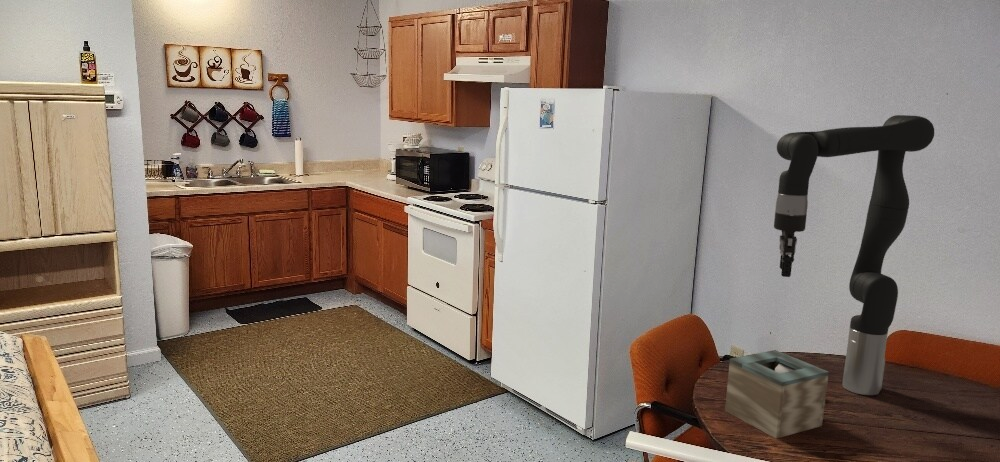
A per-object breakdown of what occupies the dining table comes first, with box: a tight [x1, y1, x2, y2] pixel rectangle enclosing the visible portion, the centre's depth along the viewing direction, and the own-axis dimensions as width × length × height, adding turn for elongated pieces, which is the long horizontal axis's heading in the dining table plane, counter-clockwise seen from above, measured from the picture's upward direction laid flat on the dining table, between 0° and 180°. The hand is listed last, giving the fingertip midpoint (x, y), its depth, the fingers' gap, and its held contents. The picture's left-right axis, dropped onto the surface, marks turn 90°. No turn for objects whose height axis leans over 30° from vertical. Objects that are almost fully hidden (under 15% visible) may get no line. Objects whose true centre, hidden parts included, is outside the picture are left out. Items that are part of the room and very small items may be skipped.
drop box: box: [724, 349, 830, 440], centre depth 169 cm, size 16×16×14 cm
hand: (784, 272), depth 179 cm, fingers open, 8 cm apart
